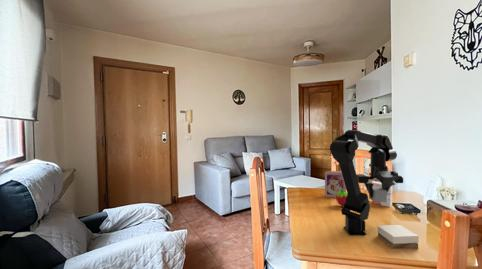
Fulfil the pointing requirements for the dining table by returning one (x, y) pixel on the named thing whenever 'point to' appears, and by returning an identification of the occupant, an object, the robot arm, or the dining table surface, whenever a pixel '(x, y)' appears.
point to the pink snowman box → (334, 183)
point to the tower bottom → (399, 246)
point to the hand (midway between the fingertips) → (377, 197)
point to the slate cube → (379, 194)
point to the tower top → (397, 234)
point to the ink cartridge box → (389, 195)
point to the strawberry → (341, 197)
